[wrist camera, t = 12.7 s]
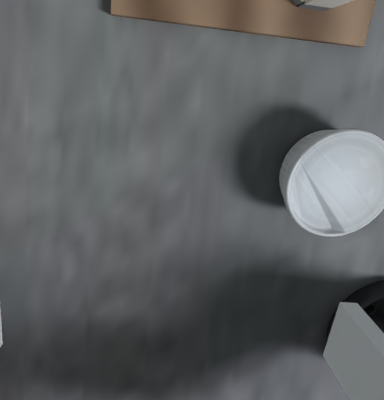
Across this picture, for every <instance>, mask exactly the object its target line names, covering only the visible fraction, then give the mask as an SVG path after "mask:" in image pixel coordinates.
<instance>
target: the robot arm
mask: <svg viewBox="0 0 384 400" xmlns="http://www.w3.org/2000/svg"><path fill="white" fill-rule="evenodd" d="M327 340H328V341H327V344H326V347H325V350H324V353H323V357H324V359H325V360H326V362H327V364H328V365H329V367H330V369H331V370H332V372H333V374H334V376H335V377H336V379H337V381H338V382H339V384H340V386H341V387H342V389H343V391H344V393H345V394H346V396H347V398H348V399H349V400H384V281H381V282H377V283H374V284H371V285H369V286H366V287H364V288H362V289H361V290H359V291H357V292H356V293H354V294H353V295H351V296H350V297H349V298H348V299H347V300H345V301H344V302H340V303H339V306H338V309H337V311H336V312H335V314H334V316H333V317H332V319H331V322H330V324H329V328H328V333H327ZM2 344H3V342H2V326H1V309H0V347H1V345H2Z"/></svg>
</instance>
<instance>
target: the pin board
mask: <svg viewBox="0 0 384 400" xmlns="http://www.w3.org/2000/svg"><path fill="white" fill-rule="evenodd" d="M375 1H376V0H354V1H351V2H348V3H346V4H343V5H340V6H337V7H335V8H332V9H329V10H326V11H320V10H313V9H306V8H299V7H298V5H296V6H295V4H294V3H293V1H292V0H111V15H112V16H119V17H127V18H135V19H143V20H150V21H158V22H166V23H174V24H182V25H189V26H197V27H205V28H213V29H220V30H228V31H236V32H244V33H251V34H259V35H267V36H275V37H282V38H290V39H298V40H306V41H313V42H321V43H329V44H337V45H345V46H352V47H364V45H365V41H366V37H367V33H368V29H369V25H370V21H371V17H372V13H373V9H374V5H375Z"/></svg>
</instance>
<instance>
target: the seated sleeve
mask: <svg viewBox="0 0 384 400" xmlns="http://www.w3.org/2000/svg"><path fill="white" fill-rule="evenodd" d="M292 1H293V3H294V4H295V6H296V5H298V7H299V8H306V9H313V10H320V11H326V10H329V9H332V8H335V7H337V6H340V5H343V4H346V3H348V2H351V1H354V0H292Z"/></svg>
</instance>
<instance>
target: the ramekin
mask: <svg viewBox="0 0 384 400" xmlns="http://www.w3.org/2000/svg"><path fill="white" fill-rule="evenodd" d="M279 183H280V189H281V193H282V195H283V197H284V202H285V206H286V208H287V210H288V212H289V214H290V216H291V217H292V218H293V220H294V221H295V222H296V223H297V224H298V225H299V226H300V227H302V228H303V229H305V230H306V231H308V232H310V233H313V234H316V235H320V236H329V237H332V236H341V235H345V234H349V233H351V232H354V231H356V230H358V229H360V228H362V227H364V226H365V225H367V224H368V223H370V222H371V221H372V220H373V219H374V218H375V217H376V216H378V214H379V213H380V212H381V211H382V210H383V209H384V141H383V140H382V139H381V138H379V137H378V136H376V135H374V134H372V133H370V132H367V131H364V130H360V129H353V128H343V129H337V130H321V131H316V132H314V133H311V134H309V135H307V136H305V137H303V138H302V139H301V140H299V141H298V142H297V143H296V144H294V145H293V147H292V148H291V149H290V150H289V152H288V153H287V154H286V156H285V158H284V160H283V163H282V165H281V169H280V175H279Z"/></svg>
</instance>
